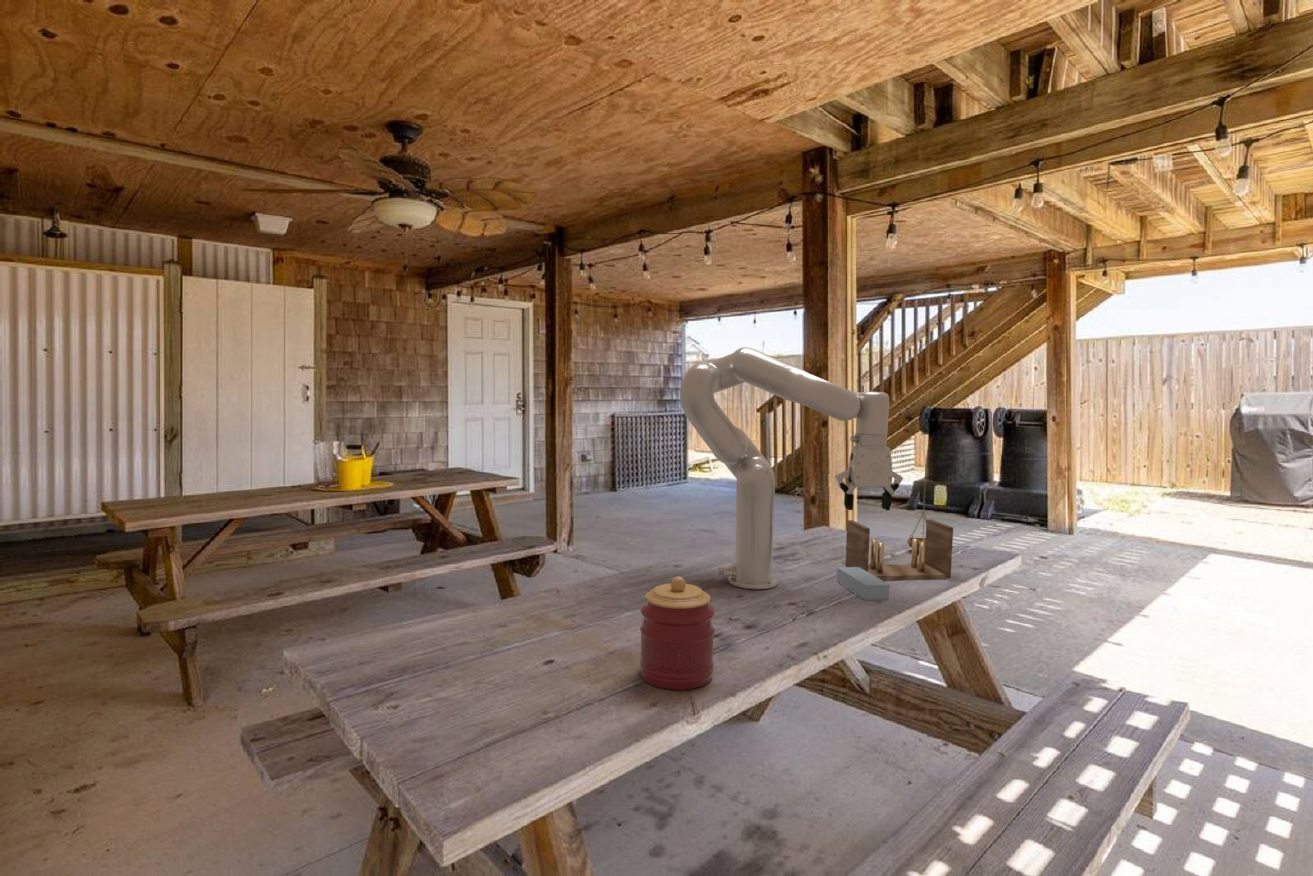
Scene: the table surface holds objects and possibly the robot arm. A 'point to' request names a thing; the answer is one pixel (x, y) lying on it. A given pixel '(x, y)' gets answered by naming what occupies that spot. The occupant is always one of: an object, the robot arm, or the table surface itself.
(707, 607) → the canister
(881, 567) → the shelf pegs
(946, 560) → the shelf frame
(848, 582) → the shelf board
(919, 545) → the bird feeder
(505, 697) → the table surface
